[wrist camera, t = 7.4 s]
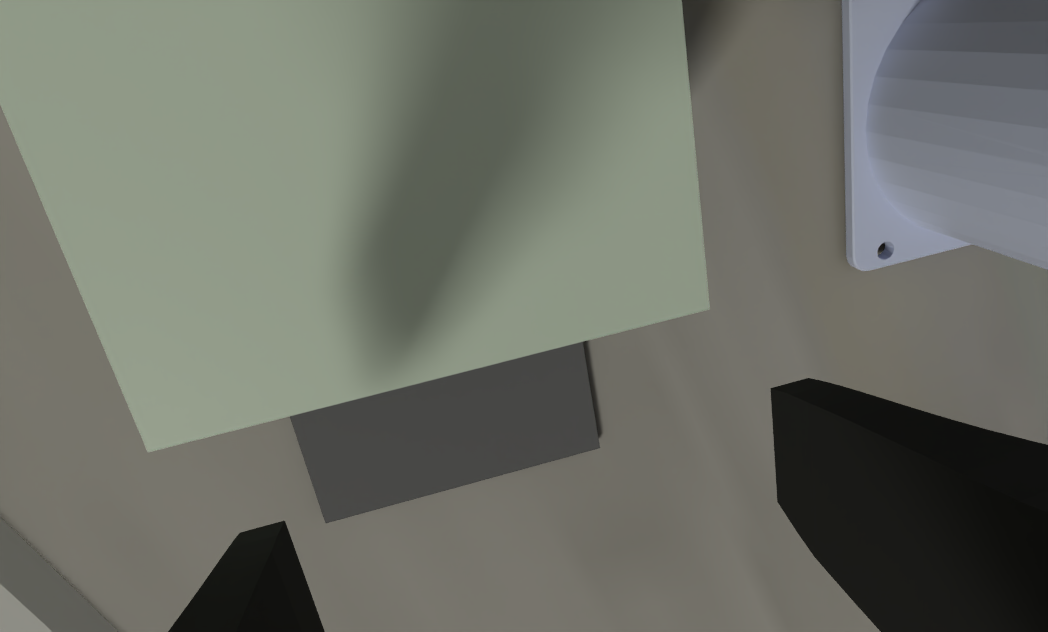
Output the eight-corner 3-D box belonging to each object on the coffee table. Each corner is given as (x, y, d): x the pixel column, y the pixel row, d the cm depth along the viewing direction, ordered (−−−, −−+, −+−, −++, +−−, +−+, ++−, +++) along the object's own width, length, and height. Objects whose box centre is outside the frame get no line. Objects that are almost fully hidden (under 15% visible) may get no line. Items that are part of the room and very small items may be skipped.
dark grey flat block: (571, 285, 21) (573, 288, 20) (596, 443, 23) (600, 448, 22) (272, 358, 20) (272, 363, 19) (326, 517, 22) (325, 523, 21)
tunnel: (534, -220, 16) (647, -374, 10) (598, 224, 20) (709, 309, 14) (49, -147, 15) (-159, -271, 9) (214, 314, 19) (148, 452, 13)
